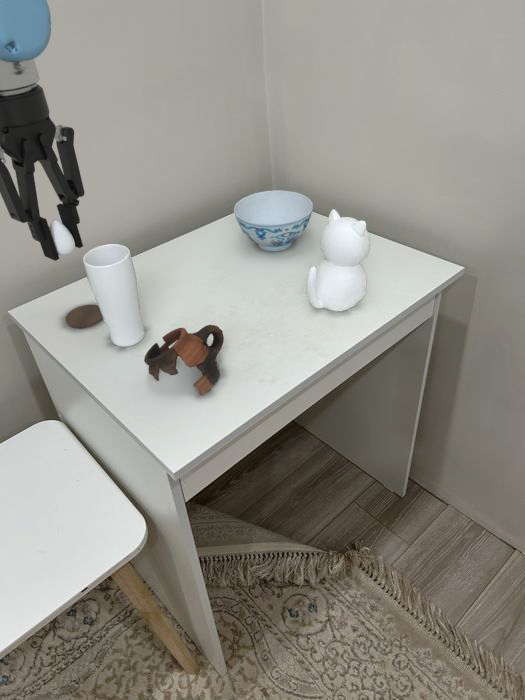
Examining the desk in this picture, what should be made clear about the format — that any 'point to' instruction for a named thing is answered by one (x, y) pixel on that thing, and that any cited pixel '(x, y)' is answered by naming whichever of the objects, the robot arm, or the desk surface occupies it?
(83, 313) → the coaster
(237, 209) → the chinaware
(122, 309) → the drinking glass
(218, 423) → the desk surface
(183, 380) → the desk surface
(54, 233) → the egg
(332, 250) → the cat figurine
